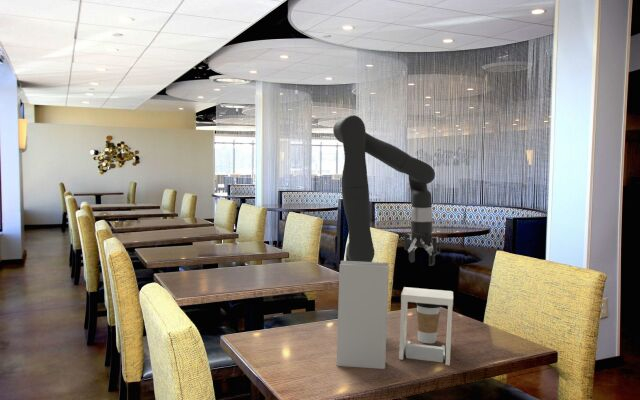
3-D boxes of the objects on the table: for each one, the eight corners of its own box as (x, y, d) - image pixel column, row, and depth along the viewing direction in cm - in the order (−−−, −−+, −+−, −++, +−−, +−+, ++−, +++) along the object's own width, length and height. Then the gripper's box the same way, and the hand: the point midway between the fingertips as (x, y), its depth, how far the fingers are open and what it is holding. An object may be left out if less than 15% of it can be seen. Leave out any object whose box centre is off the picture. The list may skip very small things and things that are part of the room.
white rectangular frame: (398, 359, 156) (401, 294, 155) (402, 344, 169) (404, 285, 167) (450, 365, 153) (453, 299, 151) (450, 350, 165) (452, 289, 164)
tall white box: (384, 361, 154) (388, 262, 152) (385, 368, 149) (389, 266, 146) (337, 358, 155) (340, 260, 153) (336, 365, 150) (339, 264, 148)
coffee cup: (440, 338, 176) (442, 295, 175) (438, 346, 168) (440, 301, 167) (416, 335, 179) (418, 292, 178) (412, 342, 171) (414, 298, 170)
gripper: (399, 219, 188) (399, 262, 189) (431, 222, 177) (431, 268, 179) (412, 217, 193) (412, 259, 194) (444, 220, 182) (444, 265, 184)
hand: (421, 263), depth 187 cm, fingers open, 8 cm apart
